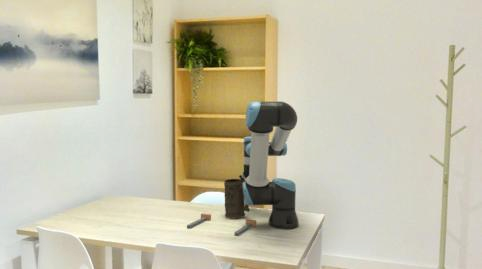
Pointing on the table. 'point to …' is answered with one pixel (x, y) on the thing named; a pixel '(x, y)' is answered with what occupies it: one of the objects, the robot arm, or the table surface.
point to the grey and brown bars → (208, 217)
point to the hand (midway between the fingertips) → (250, 204)
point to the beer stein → (234, 199)
